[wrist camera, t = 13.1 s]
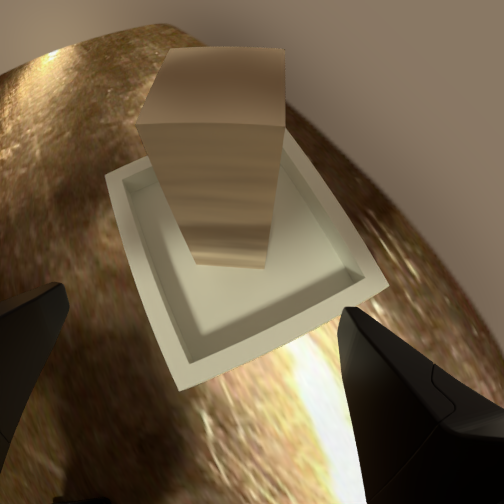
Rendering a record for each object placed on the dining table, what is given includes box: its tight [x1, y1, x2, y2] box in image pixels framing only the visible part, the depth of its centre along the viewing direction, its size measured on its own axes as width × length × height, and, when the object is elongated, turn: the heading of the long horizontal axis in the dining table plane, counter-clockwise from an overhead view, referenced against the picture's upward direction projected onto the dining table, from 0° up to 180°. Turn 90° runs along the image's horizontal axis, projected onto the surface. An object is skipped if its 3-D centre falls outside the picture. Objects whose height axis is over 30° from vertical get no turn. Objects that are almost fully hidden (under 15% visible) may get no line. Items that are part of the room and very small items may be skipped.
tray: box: [105, 128, 389, 391], centre depth 21 cm, size 14×16×3 cm
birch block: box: [135, 47, 285, 269], centre depth 15 cm, size 4×4×13 cm
